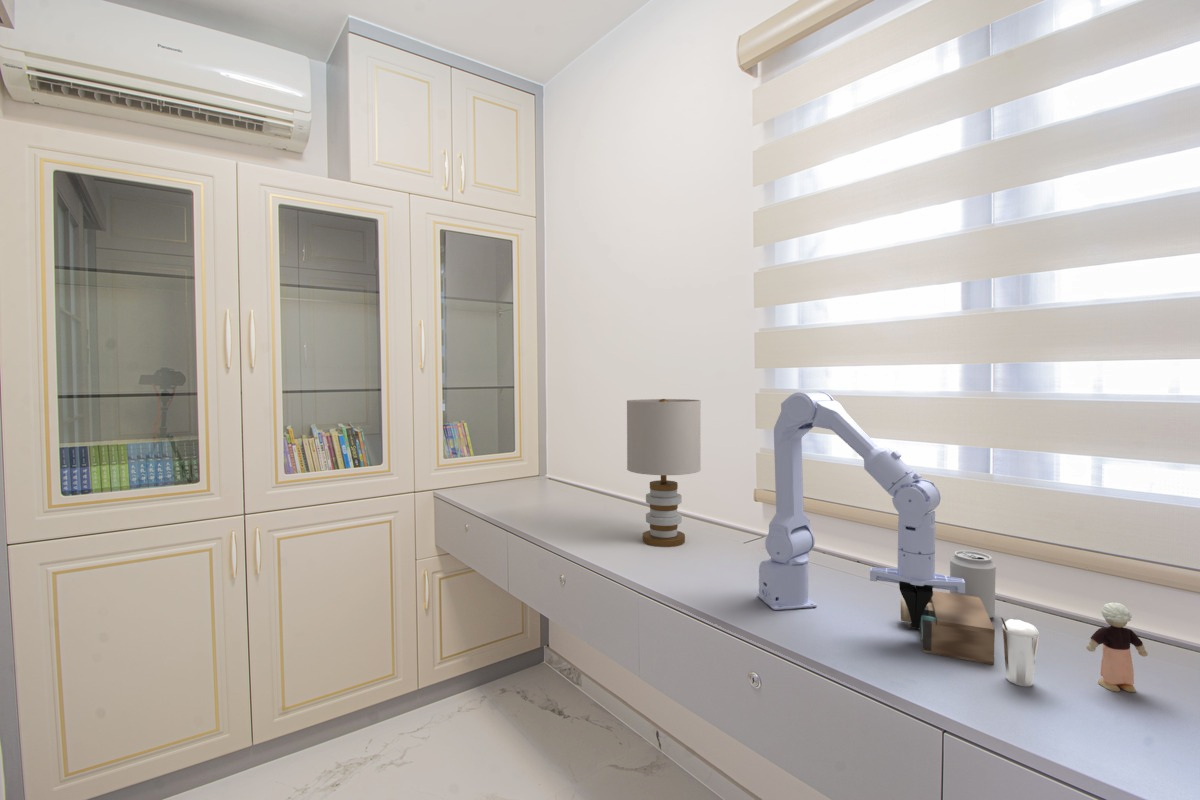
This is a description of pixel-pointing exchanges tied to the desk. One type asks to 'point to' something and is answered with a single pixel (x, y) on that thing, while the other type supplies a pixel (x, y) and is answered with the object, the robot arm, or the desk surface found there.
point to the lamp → (663, 458)
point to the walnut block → (958, 628)
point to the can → (975, 576)
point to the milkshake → (1020, 651)
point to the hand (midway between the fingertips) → (915, 625)
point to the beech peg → (905, 613)
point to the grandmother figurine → (1116, 648)
